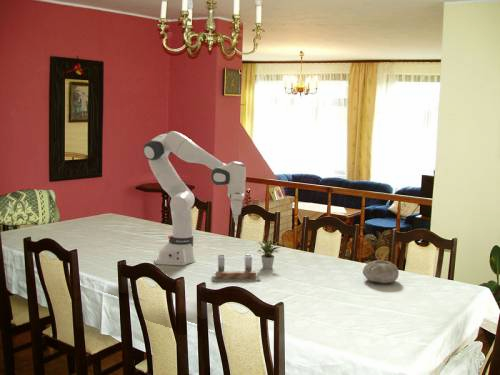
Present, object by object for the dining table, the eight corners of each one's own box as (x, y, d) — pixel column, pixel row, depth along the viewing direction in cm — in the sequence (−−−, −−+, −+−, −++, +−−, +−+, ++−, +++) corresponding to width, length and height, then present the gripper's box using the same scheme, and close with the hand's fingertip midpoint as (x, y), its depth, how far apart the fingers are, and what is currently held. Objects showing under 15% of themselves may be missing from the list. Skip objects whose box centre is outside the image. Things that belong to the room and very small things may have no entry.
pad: (212, 281, 297) (212, 280, 297) (211, 277, 304) (211, 276, 304) (260, 281, 300) (260, 279, 300) (258, 276, 307) (258, 275, 307)
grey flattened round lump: (391, 289, 292) (392, 269, 290) (357, 282, 301) (357, 263, 299) (402, 280, 307) (404, 261, 305) (369, 274, 316) (370, 255, 314)
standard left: (216, 276, 306) (216, 257, 304) (215, 272, 312) (216, 254, 311) (226, 276, 306) (226, 257, 305) (225, 272, 313) (225, 254, 311)
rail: (216, 279, 300) (216, 273, 299) (216, 277, 303) (216, 271, 302) (256, 278, 302) (256, 272, 301) (255, 276, 305) (255, 271, 304)
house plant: (260, 272, 314) (261, 242, 312) (248, 265, 326) (249, 236, 324) (283, 269, 321) (284, 239, 318) (271, 263, 333) (272, 234, 331)
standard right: (243, 276, 307) (244, 257, 306) (242, 272, 314) (243, 254, 312) (253, 276, 308) (253, 257, 306) (252, 272, 314) (252, 254, 313)
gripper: (228, 190, 315) (227, 215, 317) (231, 196, 295) (230, 224, 297) (240, 190, 316) (239, 216, 318) (244, 197, 296) (242, 224, 298)
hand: (234, 220), depth 307 cm, fingers open, 8 cm apart
